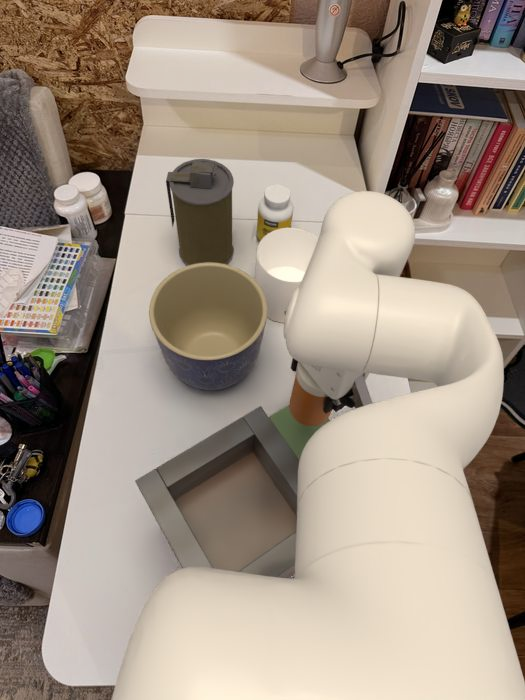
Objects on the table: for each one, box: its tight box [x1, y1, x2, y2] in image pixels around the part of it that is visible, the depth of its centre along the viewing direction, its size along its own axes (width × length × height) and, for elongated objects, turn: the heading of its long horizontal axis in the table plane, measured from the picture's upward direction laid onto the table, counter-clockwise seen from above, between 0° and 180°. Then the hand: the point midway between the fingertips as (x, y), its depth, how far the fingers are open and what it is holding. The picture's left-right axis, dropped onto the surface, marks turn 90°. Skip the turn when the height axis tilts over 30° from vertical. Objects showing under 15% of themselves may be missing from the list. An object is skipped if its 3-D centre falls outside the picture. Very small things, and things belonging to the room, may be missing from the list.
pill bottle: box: [256, 183, 294, 243], centre depth 96 cm, size 6×6×12 cm
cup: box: [254, 227, 319, 324], centre depth 88 cm, size 12×12×12 cm
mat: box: [268, 404, 331, 460], centre depth 80 cm, size 10×10×1 cm
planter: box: [148, 262, 268, 391], centre depth 80 cm, size 17×17×15 cm
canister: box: [165, 158, 235, 267], centre depth 89 cm, size 11×10×20 cm
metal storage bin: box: [134, 405, 300, 578], centre depth 63 cm, size 16×16×22 cm
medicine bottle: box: [288, 361, 333, 426], centre depth 67 cm, size 6×6×12 cm
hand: (317, 384), depth 66 cm, fingers closed on medicine bottle, 6 cm apart
